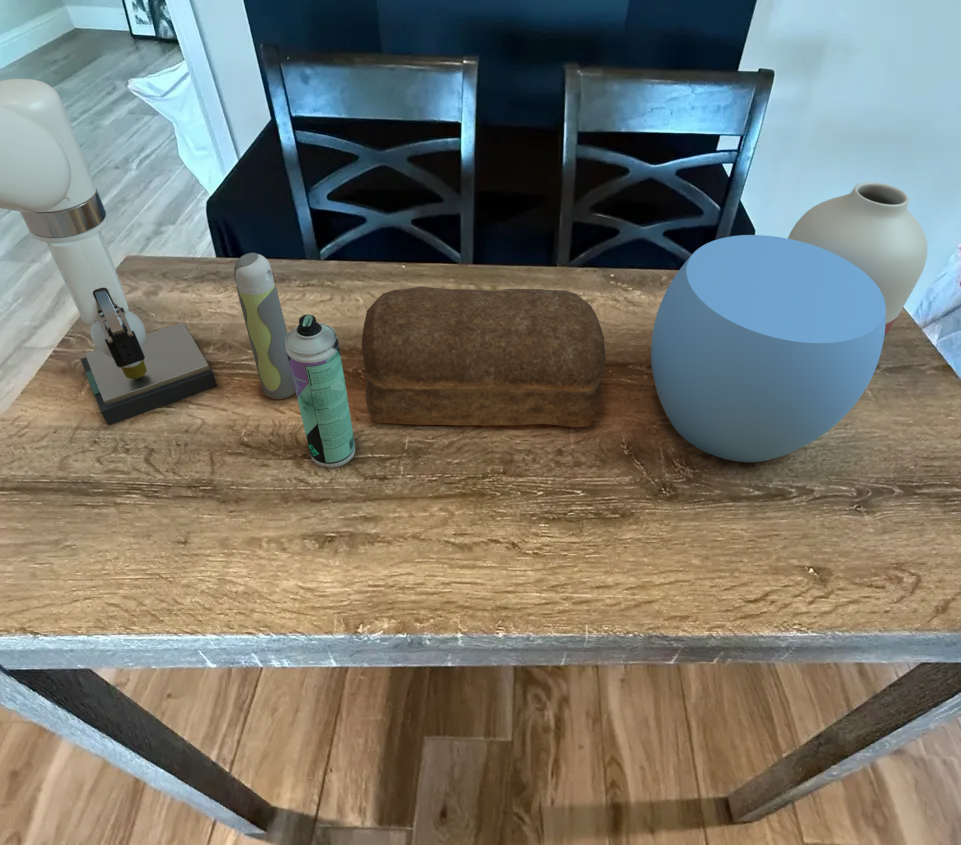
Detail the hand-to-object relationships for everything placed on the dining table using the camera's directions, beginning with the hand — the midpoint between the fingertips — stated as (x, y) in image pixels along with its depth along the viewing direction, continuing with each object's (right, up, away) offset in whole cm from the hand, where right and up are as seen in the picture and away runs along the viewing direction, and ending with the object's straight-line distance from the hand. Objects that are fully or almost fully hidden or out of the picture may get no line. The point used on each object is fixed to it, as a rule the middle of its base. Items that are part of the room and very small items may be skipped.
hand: (124, 346), depth 83 cm
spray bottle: (+17, -5, +8) cm, 20 cm away
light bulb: (0, -4, +4) cm, 5 cm away
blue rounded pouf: (+77, -8, +6) cm, 78 cm away
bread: (+44, -5, +9) cm, 45 cm away
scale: (-1, -4, +8) cm, 9 cm away
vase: (+93, +2, +18) cm, 95 cm away
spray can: (+26, -13, 0) cm, 29 cm away
